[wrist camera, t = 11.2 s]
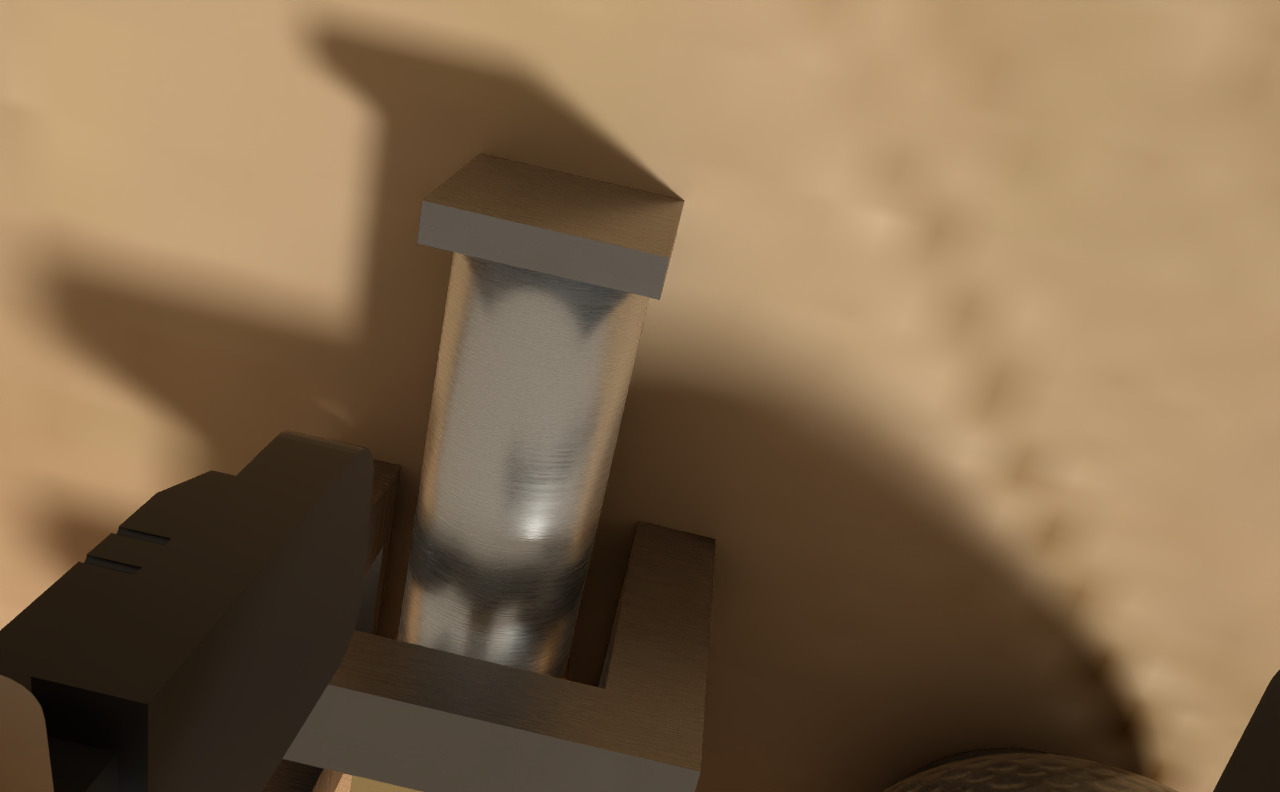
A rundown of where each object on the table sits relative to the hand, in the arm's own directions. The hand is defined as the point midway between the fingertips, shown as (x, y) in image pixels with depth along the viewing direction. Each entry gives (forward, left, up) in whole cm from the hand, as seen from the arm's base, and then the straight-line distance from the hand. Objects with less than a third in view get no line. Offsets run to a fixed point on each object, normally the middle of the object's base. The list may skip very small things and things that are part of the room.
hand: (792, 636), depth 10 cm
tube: (+5, +12, -21) cm, 25 cm away
